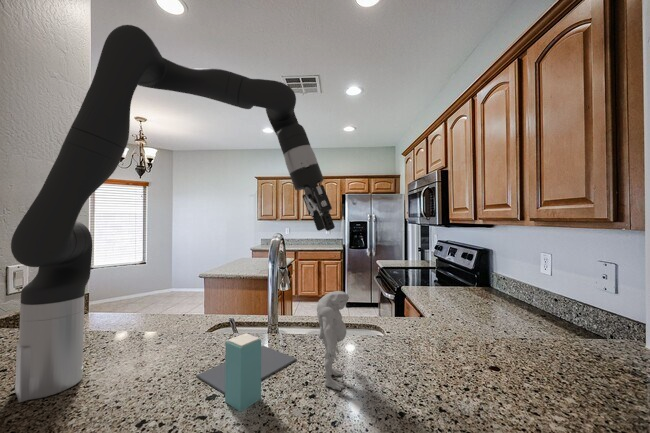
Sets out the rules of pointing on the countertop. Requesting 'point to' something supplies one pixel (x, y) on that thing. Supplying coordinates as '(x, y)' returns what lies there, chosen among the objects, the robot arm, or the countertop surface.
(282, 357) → the rubber mat
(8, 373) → the countertop surface
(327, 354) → the figurine
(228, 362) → the teal block
